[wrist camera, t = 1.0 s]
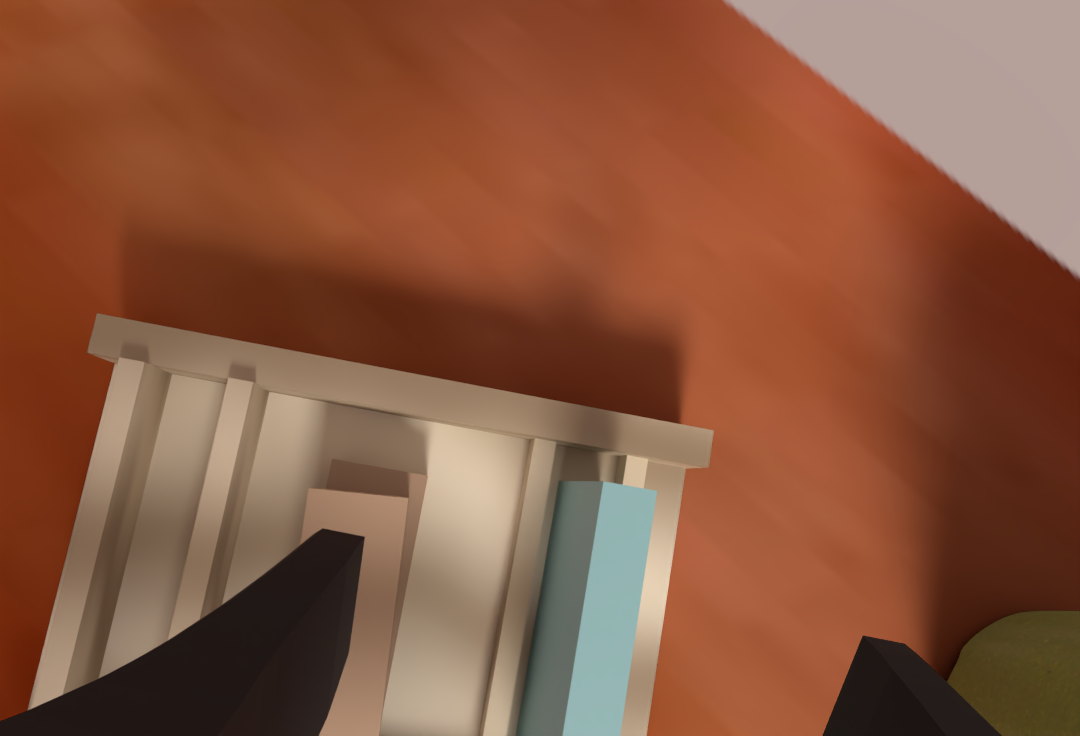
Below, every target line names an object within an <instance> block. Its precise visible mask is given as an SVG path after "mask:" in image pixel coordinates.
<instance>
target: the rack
mask: <svg viewBox="0 0 1080 736" xmlns="http://www.w3.org/2000/svg"><path fill="white" fill-rule="evenodd" d="M87 353H89V354H92V355H94V356H97V357H100V358H102V359H105V360H107V361H110V362H112V363H115V365H114V369H113V373H112V377H111V381H110V385H109V389H108V393H107V397H106V401H105V405H104V409H103V412H102V416H101V420H100V424H99V428H98V432H97V436H96V440H95V444H94V448H93V452H92V456H91V460H90V464H89V468H88V472H87V476H86V480H85V484H84V488H83V492H82V496H81V500H80V504H79V508H78V512H77V516H76V520H75V524H74V528H73V531H72V535H71V539H70V543H69V547H68V551H67V555H66V559H65V563H64V567H63V571H62V575H61V579H60V583H59V587H58V591H57V595H56V599H55V603H54V607H53V611H52V615H51V619H50V623H49V627H48V631H47V635H46V639H45V643H44V647H43V650H42V654H41V658H40V662H39V666H38V670H37V674H36V678H35V682H34V686H33V690H32V694H31V698H30V702H29V706H28V710H30V709H32V708H34V707H36V706H39V705H41V704H43V703H45V702H48V701H50V700H52V699H54V698H57V697H59V696H61V695H63V694H66V693H68V692H70V691H72V690H74V689H77V688H79V687H81V686H83V685H86V684H88V683H90V682H92V681H95V680H97V679H99V678H101V677H103V676H105V675H107V674H109V673H111V672H112V671H114V670H116V669H118V668H120V667H122V666H124V665H126V664H127V663H129V662H131V661H133V660H135V659H137V658H138V657H140V656H142V655H144V654H145V653H147V652H149V651H151V650H152V649H154V648H156V647H157V646H159V645H161V644H162V643H164V642H166V641H167V640H169V639H171V638H172V637H174V636H175V635H177V634H179V633H180V632H182V631H183V630H185V629H186V628H188V627H189V626H191V625H192V624H194V623H195V622H197V621H198V620H200V619H201V618H203V617H204V616H206V615H208V614H209V613H211V612H212V611H214V610H215V609H217V608H218V607H220V606H221V605H222V604H224V603H225V602H227V601H228V600H229V599H231V598H232V597H233V596H235V595H236V594H238V593H239V592H240V591H242V590H243V589H244V588H246V587H247V586H248V585H250V584H251V583H252V582H254V581H255V580H257V579H258V578H259V577H261V576H262V575H263V574H264V573H266V572H267V571H268V570H270V569H271V568H272V567H273V566H275V565H276V564H277V563H279V562H280V561H281V560H282V559H284V558H285V557H286V556H287V555H289V554H290V553H291V552H292V551H293V550H295V549H296V548H297V547H298V546H300V543H301V536H302V529H303V522H304V515H305V508H306V501H307V493H308V488H324V489H326V485H327V480H328V476H329V471H330V466H331V461H332V459H336V460H341V461H347V462H353V463H358V464H364V465H370V466H375V467H381V468H386V469H392V470H398V471H403V472H409V473H415V474H420V475H426V476H428V479H427V484H426V489H425V494H424V499H423V505H422V510H421V515H420V520H419V525H418V531H417V536H416V541H415V546H414V551H413V557H412V562H411V567H410V572H409V577H408V583H407V588H406V593H405V598H404V603H403V609H402V614H401V619H400V624H399V629H398V635H397V640H396V645H395V650H394V656H393V661H392V666H391V671H390V676H389V682H388V687H387V692H386V697H385V702H384V708H383V713H382V720H381V728H380V736H516V731H517V725H518V719H519V713H520V707H521V701H522V695H523V689H524V683H525V677H526V672H527V666H528V660H529V654H530V648H531V642H532V636H533V630H534V624H535V618H536V612H537V606H538V601H539V595H540V589H541V583H542V577H543V571H544V565H545V559H546V553H547V547H548V541H549V536H550V530H551V524H552V518H553V512H554V506H555V500H556V494H557V488H558V482H559V481H605V482H610V483H616V484H621V485H627V486H633V487H638V488H644V489H649V490H655V491H657V496H656V502H655V509H654V515H653V522H652V529H651V535H650V542H649V548H648V555H647V562H646V568H645V575H644V581H643V588H642V595H641V601H640V608H639V614H638V621H637V628H636V634H635V641H634V647H633V654H632V661H631V667H630V674H629V680H628V687H627V694H626V700H625V707H624V713H623V720H622V727H621V733H620V736H646V735H647V728H648V721H649V714H650V708H651V701H652V694H653V687H654V680H655V674H656V667H657V660H658V653H659V647H660V640H661V633H662V626H663V619H664V613H665V606H666V599H667V592H668V585H669V579H670V572H671V565H672V558H673V551H674V545H675V538H676V531H677V524H678V517H679V511H680V504H681V497H682V490H683V483H684V477H685V470H686V468H708V467H709V461H710V454H711V447H712V440H713V433H714V430H709V429H703V428H698V427H693V426H687V425H682V424H677V423H672V422H666V421H661V420H656V419H651V418H645V417H640V416H635V415H630V414H624V413H619V412H614V411H609V410H603V409H598V408H593V407H587V406H582V405H577V404H572V403H566V402H561V401H556V400H551V399H545V398H540V397H535V396H530V395H524V394H519V393H514V392H509V391H503V390H498V389H493V388H487V387H482V386H477V385H472V384H466V383H461V382H456V381H451V380H445V379H440V378H435V377H430V376H424V375H419V374H414V373H408V372H403V371H398V370H393V369H387V368H382V367H377V366H372V365H366V364H361V363H356V362H351V361H345V360H340V359H335V358H330V357H324V356H319V355H314V354H308V353H303V352H298V351H293V350H287V349H282V348H277V347H272V346H266V345H261V344H256V343H251V342H245V341H240V340H235V339H230V338H224V337H219V336H214V335H208V334H203V333H198V332H193V331H187V330H182V329H177V328H172V327H166V326H161V325H156V324H151V323H145V322H140V321H135V320H130V319H124V318H119V317H114V316H108V315H103V314H98V313H97V316H96V319H95V323H94V327H93V331H92V335H91V339H90V343H89V347H88V351H87ZM28 710H27V711H28Z"/></svg>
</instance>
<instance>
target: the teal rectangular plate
mask: <svg viewBox="0 0 1080 736" xmlns="http://www.w3.org/2000/svg"><path fill="white" fill-rule="evenodd" d="M656 496H657V491H655V490H649V489H644V488H638V487H633V486H627V485H621V484H616V483H610V482H605V481H559V482H558V488H557V494H556V500H555V506H554V512H553V518H552V524H551V530H550V536H549V541H548V547H547V553H546V559H545V565H544V571H543V577H542V583H541V589H540V595H539V601H538V606H537V612H536V618H535V624H534V630H533V636H532V642H531V648H530V654H529V660H528V666H527V672H526V677H525V683H524V689H523V695H522V701H521V707H520V713H519V719H518V725H517V731H516V736H620V733H621V727H622V720H623V713H624V707H625V700H626V694H627V687H628V680H629V674H630V667H631V661H632V654H633V647H634V641H635V634H636V628H637V621H638V614H639V608H640V601H641V595H642V588H643V581H644V575H645V568H646V562H647V555H648V548H649V542H650V535H651V529H652V522H653V515H654V509H655V502H656Z"/></svg>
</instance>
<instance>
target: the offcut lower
mask: <svg viewBox="0 0 1080 736" xmlns="http://www.w3.org/2000/svg"><path fill="white" fill-rule="evenodd" d="M427 479H428V476H426V475H420V474H415V473H409V472H403V471H398V470H392V469H386V468H381V467H375V466H370V465H364V464H358V463H353V462H347V461H341V460H336V459H332V461H331V466H330V471H329V476H328V480H327V485H326V489H334V490H344V491H353V492H363V493H373V494H383V495H393V496H402V497H409V502H408V510H407V518H406V526H405V534H404V542H403V550H402V559H401V567H400V575H399V583H398V591H397V599H396V607H395V615H394V623H393V631H392V639H391V648H390V656H389V664H388V672H387V680H386V688H385V696H384V702H385V697H386V692H387V687H388V682H389V676H390V671H391V666H392V661H393V656H394V650H395V645H396V640H397V635H398V629H399V624H400V619H401V614H402V609H403V603H404V598H405V593H406V588H407V583H408V577H409V572H410V567H411V562H412V557H413V551H414V546H415V541H416V536H417V531H418V525H419V520H420V515H421V510H422V505H423V499H424V494H425V489H426V484H427ZM383 708H384V704H383ZM382 713H383V712H382Z"/></svg>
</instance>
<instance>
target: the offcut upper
mask: <svg viewBox="0 0 1080 736" xmlns="http://www.w3.org/2000/svg"><path fill="white" fill-rule="evenodd" d="M408 502H409V497H402V496H393V495H383V494H373V493H363V492H353V491H344V490H334V489H324V488H308V493H307V501H306V508H305V515H304V522H303V529H302V536H301V543H300V545H301V544H302V543H303V542H304V541H306V540H307V539H308V538H309V537H310V536H312V535H313V534H314V533H316V532H318V531H319V530H321V529H322V528H324V529H329V530H334V531H339V532H344V533H349V534H354V535H359V536H364V537H365V540H364V547H363V555H362V562H361V569H360V576H359V584H358V591H357V598H356V605H355V613H354V620H353V627H352V634H351V641H350V649H349V654H348V657H347V660H346V663H345V666H344V669H343V672H342V675H341V678H340V681H339V684H338V687H337V690H336V693H335V696H334V699H333V702H332V705H331V708H330V711H329V714H328V717H327V719H326V721H325V723H324V726H323V728H322V730H321V732H320V734H319V736H380V728H381V720H382V712H383V704H384V696H385V688H386V680H387V672H388V664H389V656H390V648H391V639H392V631H393V623H394V615H395V607H396V599H397V591H398V583H399V575H400V567H401V559H402V550H403V542H404V534H405V526H406V518H407V510H408Z"/></svg>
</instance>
